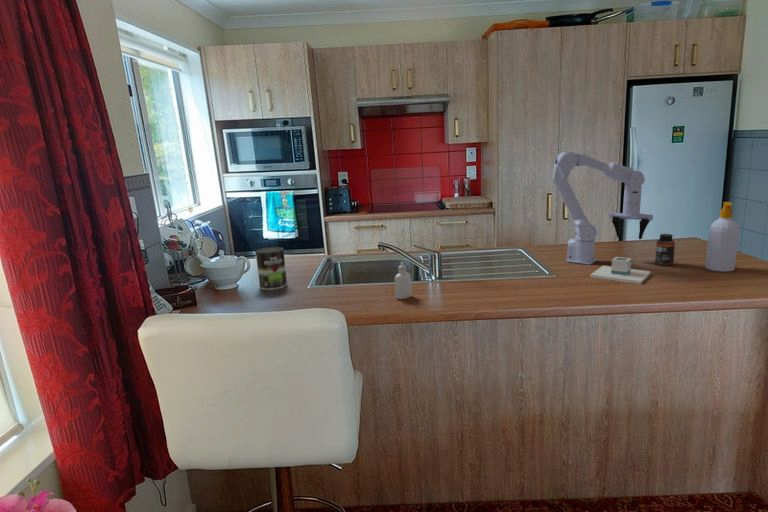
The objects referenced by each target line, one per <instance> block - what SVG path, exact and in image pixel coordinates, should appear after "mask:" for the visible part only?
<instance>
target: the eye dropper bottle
mask: <svg viewBox="0 0 768 512" xmlns="http://www.w3.org/2000/svg"><path fill="white" fill-rule="evenodd" d="M394 293H395V299H398V300H405V299H408V298H411V297H412V277H411V274H410V272H407V266H406V265H404V262H403V261H401V262H400V265H399V266H398V273H397V274H395V277H394Z"/></svg>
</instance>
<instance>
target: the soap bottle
mask: <svg viewBox="0 0 768 512" xmlns="http://www.w3.org/2000/svg"><path fill="white" fill-rule="evenodd" d="M732 207H733V204H732V202H731V201H723V206H722V208H721V210H720V212H719V217H718V219H716V220H715V221H714V222H712V223H711V224H710V225H709V226H710V227H709V231H708V239H707V248H706V256H705V265H704V266H705V268H706V269H707V270H710V271H714V272H723V273H724V272H725V273H727V272H733V271H735V268H736V260H737V253H738V243H739V237H740V236H739V235H740V226H739V225H738V223H737V222H736V221H735V220H733V210H732Z"/></svg>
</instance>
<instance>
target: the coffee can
mask: <svg viewBox="0 0 768 512" xmlns="http://www.w3.org/2000/svg"><path fill="white" fill-rule="evenodd" d="M284 252H285V251H284V247H280V246H268V247H262V248H258V249H256V250H255V257H256V265H257V266H256V267H257V273H258V274H257V275H258V283H259V284H258V285H259V289H260V290H263V291H273V290H279V289H283V288H285V287H287V286H288V282H287V281H288V280H287V272H286V271H287V269H286V261H285V253H284Z"/></svg>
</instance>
